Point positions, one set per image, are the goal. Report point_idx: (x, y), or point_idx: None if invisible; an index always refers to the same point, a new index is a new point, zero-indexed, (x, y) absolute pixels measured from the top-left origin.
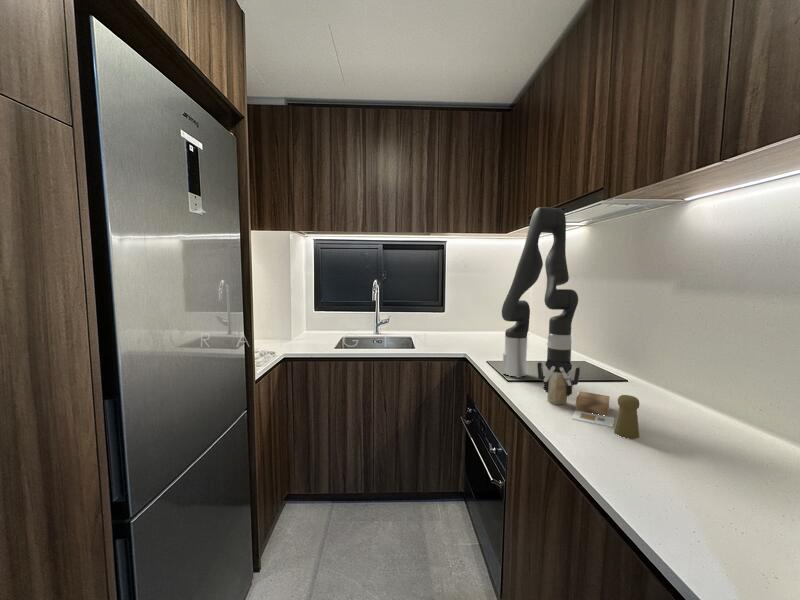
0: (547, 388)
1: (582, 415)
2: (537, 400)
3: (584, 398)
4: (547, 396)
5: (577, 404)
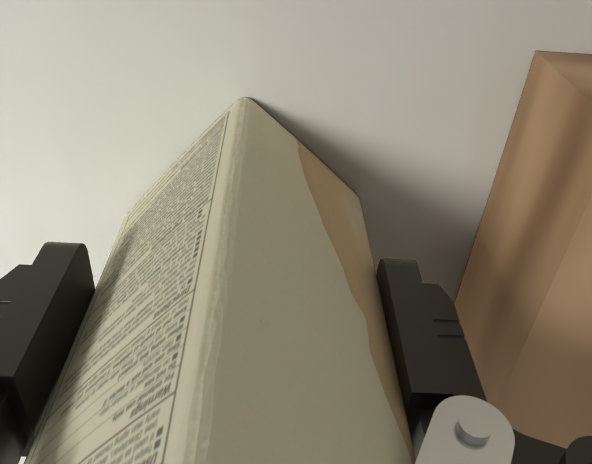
0: None
1: None
2: (23, 246)
3: (586, 408)
4: (111, 255)
5: None
